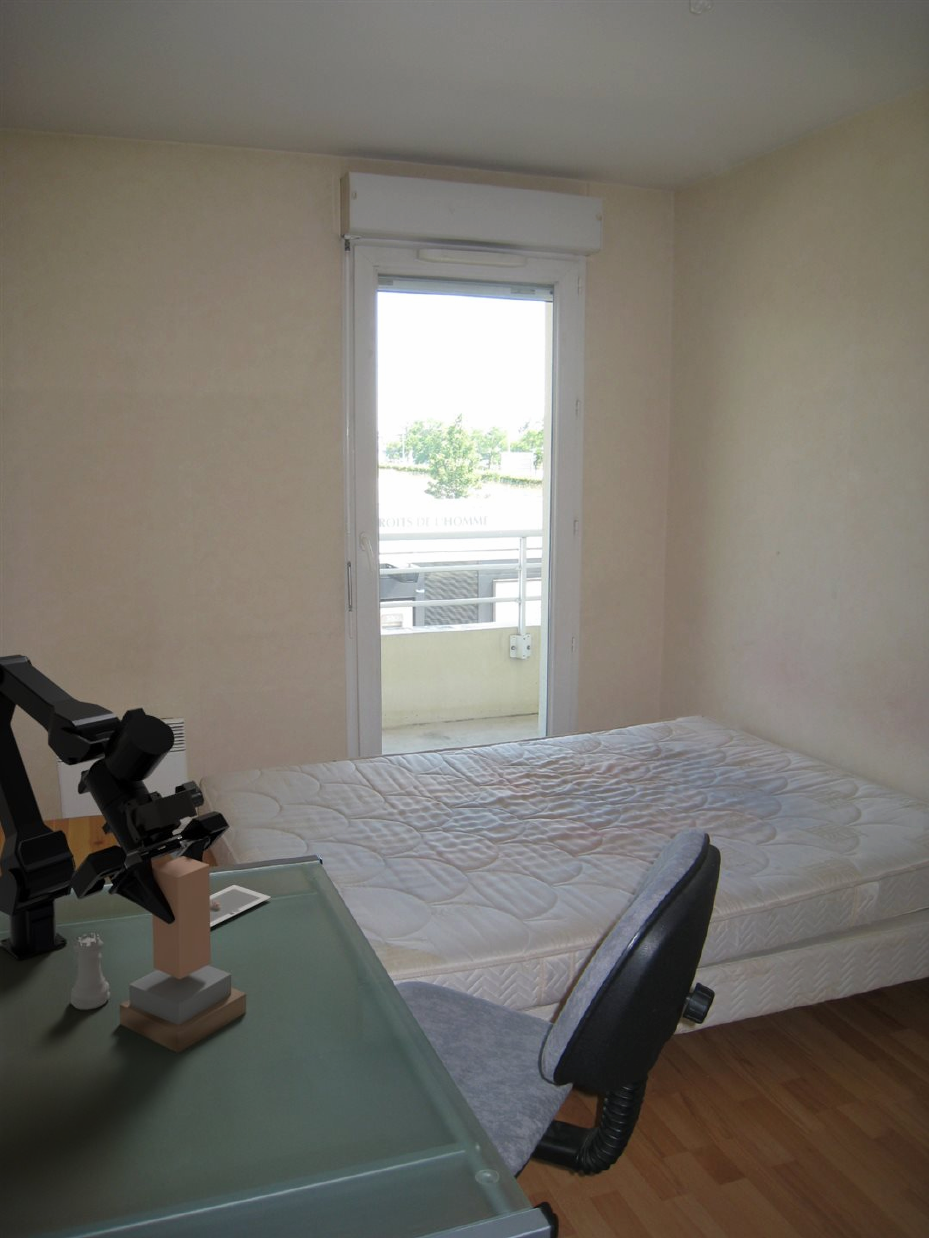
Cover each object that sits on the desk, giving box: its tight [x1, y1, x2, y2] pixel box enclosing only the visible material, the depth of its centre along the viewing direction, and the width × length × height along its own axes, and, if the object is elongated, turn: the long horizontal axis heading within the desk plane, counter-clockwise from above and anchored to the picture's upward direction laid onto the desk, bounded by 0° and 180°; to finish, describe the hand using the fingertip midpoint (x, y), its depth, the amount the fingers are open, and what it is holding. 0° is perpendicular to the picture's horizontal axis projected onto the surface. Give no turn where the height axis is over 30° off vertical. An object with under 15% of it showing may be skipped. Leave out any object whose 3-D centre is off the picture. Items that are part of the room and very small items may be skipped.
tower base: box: [119, 986, 247, 1054], centre depth 108 cm, size 10×10×3 cm
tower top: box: [128, 965, 232, 1026], centre depth 108 cm, size 8×8×2 cm
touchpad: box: [210, 884, 272, 928], centre depth 136 cm, size 8×15×2 cm, turn 148°
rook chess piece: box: [70, 933, 111, 1011], centre depth 111 cm, size 4×4×8 cm
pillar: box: [151, 856, 212, 979], centre depth 107 cm, size 4×4×12 cm
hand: (189, 914), depth 106 cm, fingers closed on pillar, 4 cm apart
